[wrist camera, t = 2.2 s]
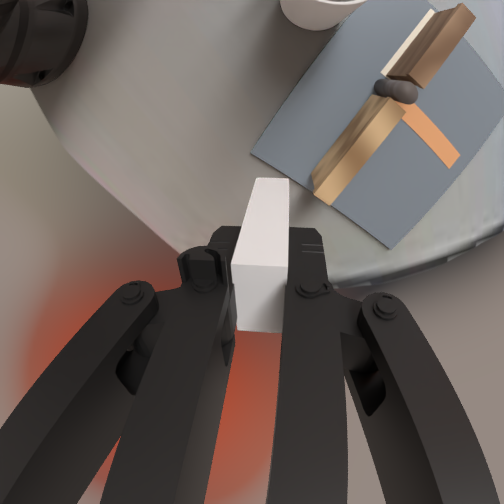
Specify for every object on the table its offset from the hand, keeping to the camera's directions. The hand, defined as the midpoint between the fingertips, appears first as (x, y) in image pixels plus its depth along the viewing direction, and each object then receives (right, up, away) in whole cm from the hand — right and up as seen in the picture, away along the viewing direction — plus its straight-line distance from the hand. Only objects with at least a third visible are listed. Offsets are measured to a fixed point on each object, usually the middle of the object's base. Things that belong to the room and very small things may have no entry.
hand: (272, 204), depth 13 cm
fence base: (+15, +18, +6) cm, 24 cm away
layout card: (+15, +12, +10) cm, 22 cm away
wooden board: (+8, +9, +12) cm, 18 cm away
